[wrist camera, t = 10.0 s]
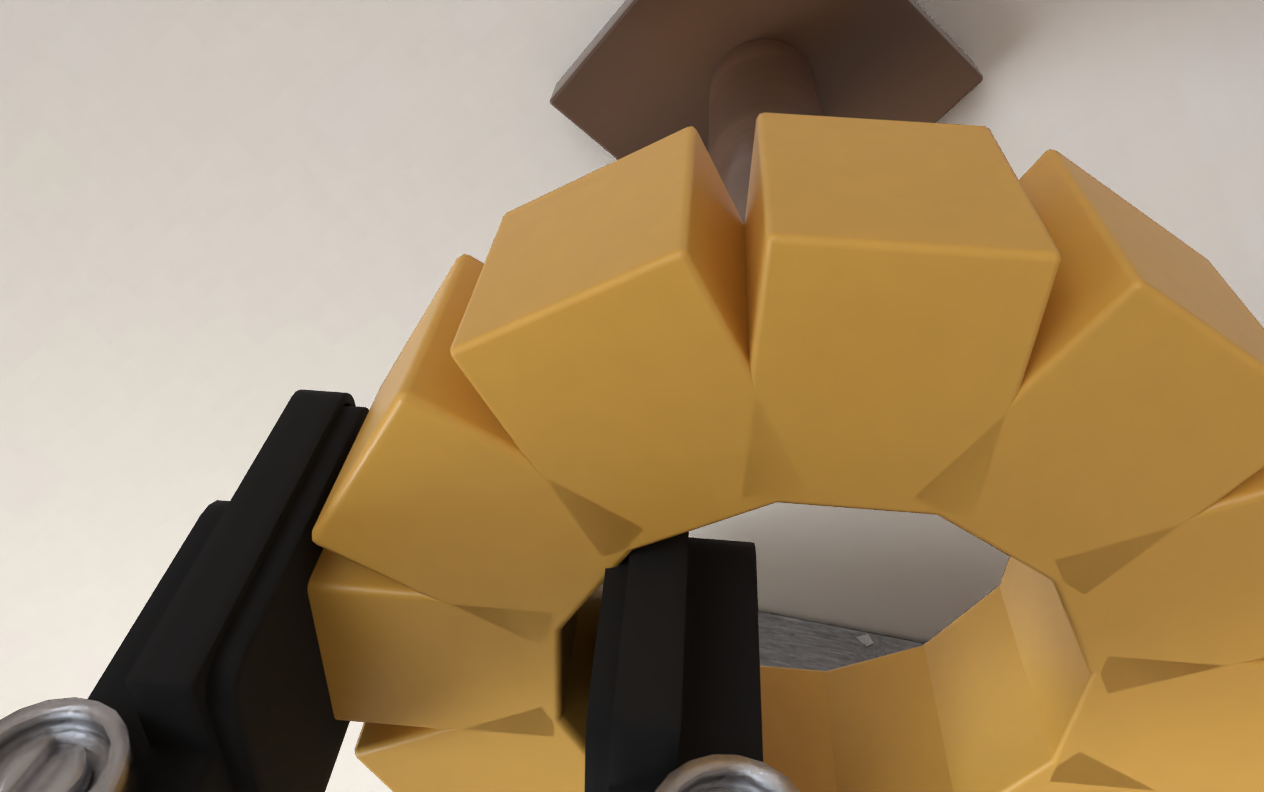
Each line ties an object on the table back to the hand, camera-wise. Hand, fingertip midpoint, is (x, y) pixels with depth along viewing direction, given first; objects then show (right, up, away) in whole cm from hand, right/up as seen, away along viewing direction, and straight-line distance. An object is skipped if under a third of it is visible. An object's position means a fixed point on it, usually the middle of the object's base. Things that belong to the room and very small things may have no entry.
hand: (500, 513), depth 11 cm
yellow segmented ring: (+3, 0, 0) cm, 3 cm away
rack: (+4, +9, +13) cm, 16 cm away
